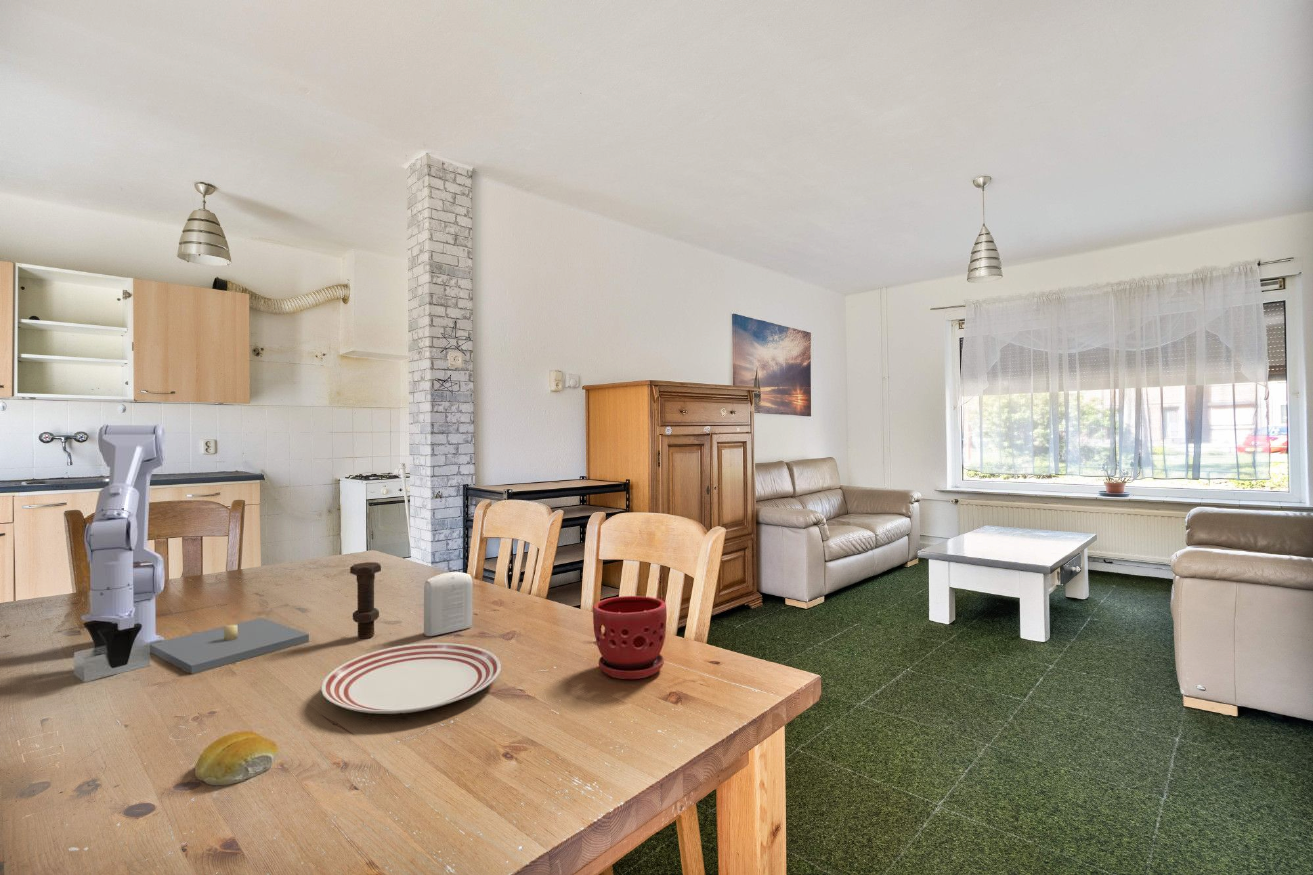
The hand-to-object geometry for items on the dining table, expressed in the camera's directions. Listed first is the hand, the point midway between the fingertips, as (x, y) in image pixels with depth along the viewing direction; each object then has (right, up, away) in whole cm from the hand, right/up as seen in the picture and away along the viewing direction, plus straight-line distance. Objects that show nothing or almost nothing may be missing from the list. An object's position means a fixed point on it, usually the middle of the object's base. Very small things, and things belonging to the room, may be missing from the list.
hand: (112, 662), depth 109 cm
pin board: (+13, -1, +12) cm, 18 cm away
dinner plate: (+57, -2, -8) cm, 58 cm away
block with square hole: (0, -1, 0) cm, 1 cm away
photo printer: (+53, -1, +21) cm, 57 cm away
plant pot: (+92, -2, 0) cm, 92 cm away
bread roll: (+44, -2, -32) cm, 54 cm away
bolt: (+37, -1, +18) cm, 41 cm away
